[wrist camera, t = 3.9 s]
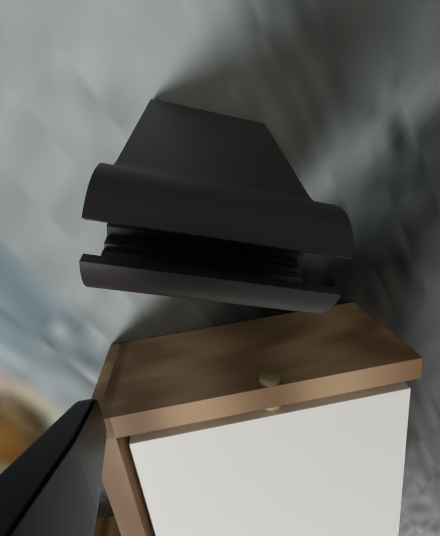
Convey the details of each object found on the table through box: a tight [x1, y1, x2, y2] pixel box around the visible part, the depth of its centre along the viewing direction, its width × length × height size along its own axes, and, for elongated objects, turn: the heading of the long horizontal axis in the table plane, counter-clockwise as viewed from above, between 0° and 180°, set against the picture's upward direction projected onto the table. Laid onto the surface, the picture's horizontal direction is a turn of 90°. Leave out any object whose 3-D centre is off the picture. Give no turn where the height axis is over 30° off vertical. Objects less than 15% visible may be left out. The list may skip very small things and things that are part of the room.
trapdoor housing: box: [92, 302, 423, 536], centre depth 21 cm, size 16×18×6 cm
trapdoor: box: [129, 382, 411, 536], centre depth 19 cm, size 14×14×3 cm
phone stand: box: [79, 99, 354, 314], centre depth 13 cm, size 9×6×12 cm, turn 169°
